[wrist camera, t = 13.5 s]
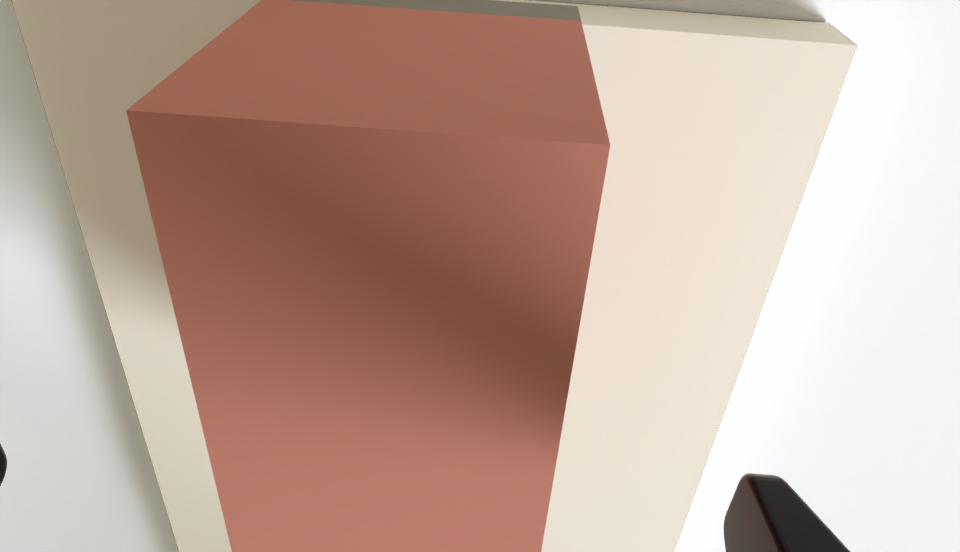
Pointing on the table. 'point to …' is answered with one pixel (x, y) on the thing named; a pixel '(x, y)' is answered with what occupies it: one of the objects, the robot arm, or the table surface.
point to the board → (614, 262)
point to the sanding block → (380, 264)
